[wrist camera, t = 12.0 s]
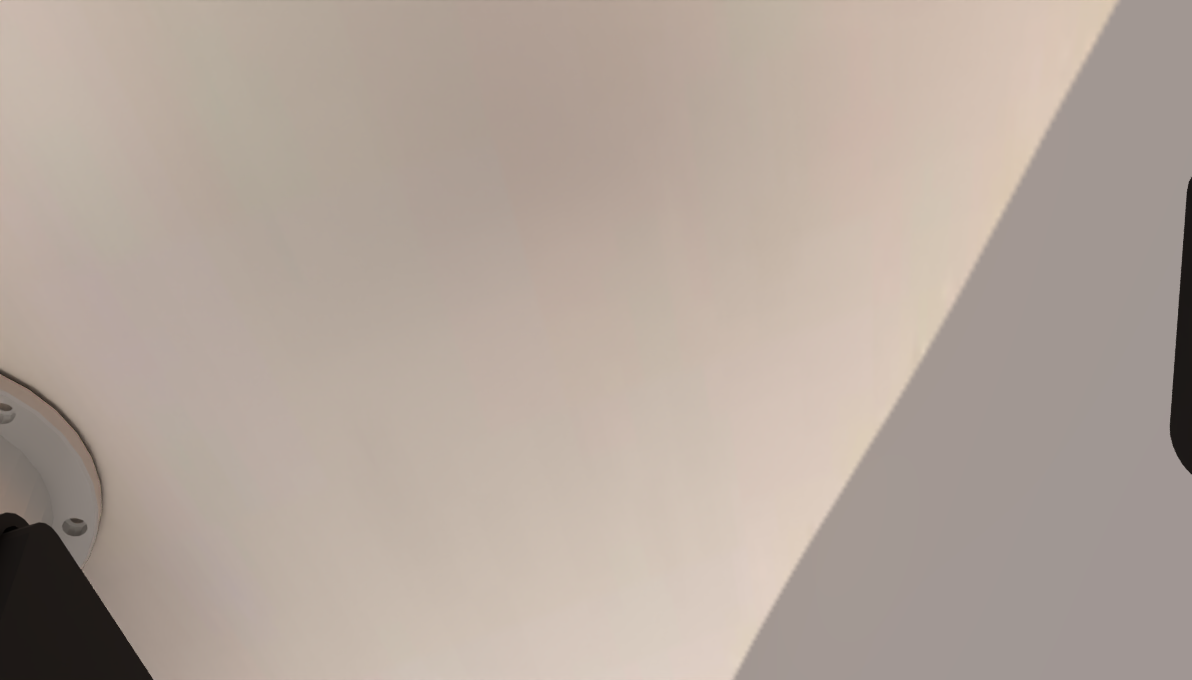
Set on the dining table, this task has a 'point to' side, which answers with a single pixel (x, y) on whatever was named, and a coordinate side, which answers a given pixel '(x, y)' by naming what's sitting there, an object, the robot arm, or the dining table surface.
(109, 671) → the robot arm
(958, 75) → the dining table surface
